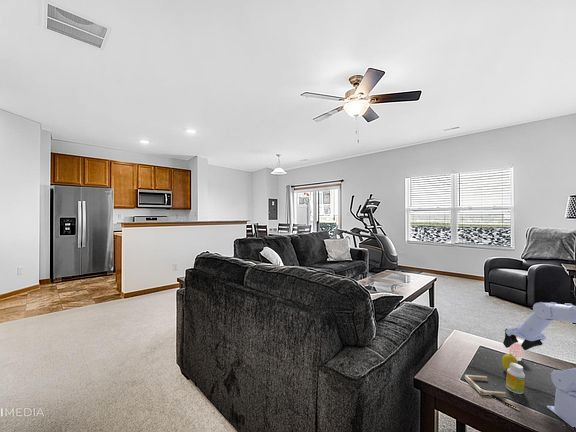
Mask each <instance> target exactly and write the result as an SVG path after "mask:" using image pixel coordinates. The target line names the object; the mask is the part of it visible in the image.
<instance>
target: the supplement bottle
mask: <svg viewBox="0 0 576 432" xmlns="http://www.w3.org/2000/svg"><path fill="white" fill-rule="evenodd" d="M505 379H506V380H505V387H506V389H507V390H508V391H510V392H513V393H514V394H518V395H522V394H524V392H525V390H524V389H525V381H526V380H525V379H526V374H525V373H524V367H523V366H522V365H521V364H519V363H518V364H516V363H510V368H508V369H507V370H506V378H505Z"/></svg>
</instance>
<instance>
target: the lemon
mask: <svg viewBox="0 0 576 432" xmlns="http://www.w3.org/2000/svg"><path fill="white" fill-rule="evenodd" d="M518 362H519V361H517V359H516V358H515V357H514V356H513V355H512V354H509V353H505V354H504V355H503V356H502V358H501V366H502V367H503V369H505V370H506V371H507V369H508V368H510V363H516V364H519V363H518Z"/></svg>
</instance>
